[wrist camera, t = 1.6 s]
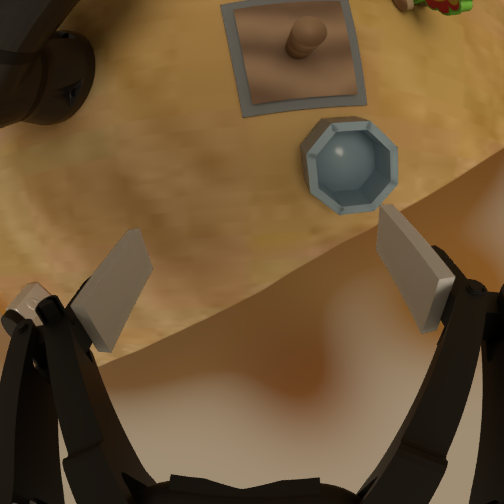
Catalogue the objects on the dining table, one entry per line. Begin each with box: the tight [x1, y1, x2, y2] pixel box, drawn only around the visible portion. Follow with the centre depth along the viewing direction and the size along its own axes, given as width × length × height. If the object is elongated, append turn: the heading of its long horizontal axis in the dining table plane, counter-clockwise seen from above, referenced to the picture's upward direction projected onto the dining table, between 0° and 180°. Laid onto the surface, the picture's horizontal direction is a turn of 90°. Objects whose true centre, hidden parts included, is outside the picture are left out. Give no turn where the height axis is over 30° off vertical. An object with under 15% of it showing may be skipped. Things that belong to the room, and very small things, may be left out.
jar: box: [1, 283, 51, 337], centre depth 47 cm, size 9×8×12 cm
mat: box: [220, 0, 367, 118], centre depth 28 cm, size 16×16×1 cm
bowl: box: [300, 116, 398, 215], centre depth 33 cm, size 11×11×6 cm
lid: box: [233, 1, 358, 105], centre depth 23 cm, size 13×13×11 cm
